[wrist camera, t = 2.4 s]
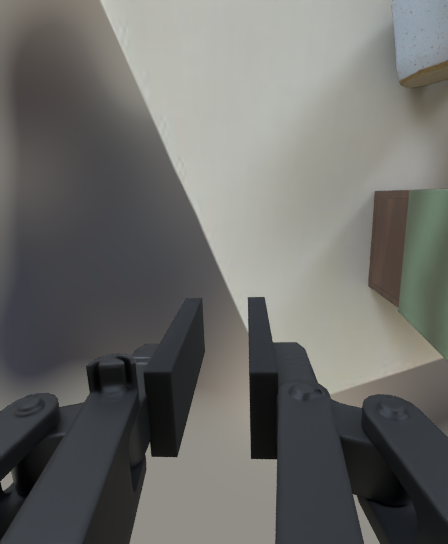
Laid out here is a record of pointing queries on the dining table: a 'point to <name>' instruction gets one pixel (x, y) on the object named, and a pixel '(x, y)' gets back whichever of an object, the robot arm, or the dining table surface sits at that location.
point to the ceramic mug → (421, 41)
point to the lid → (426, 267)
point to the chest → (388, 243)
